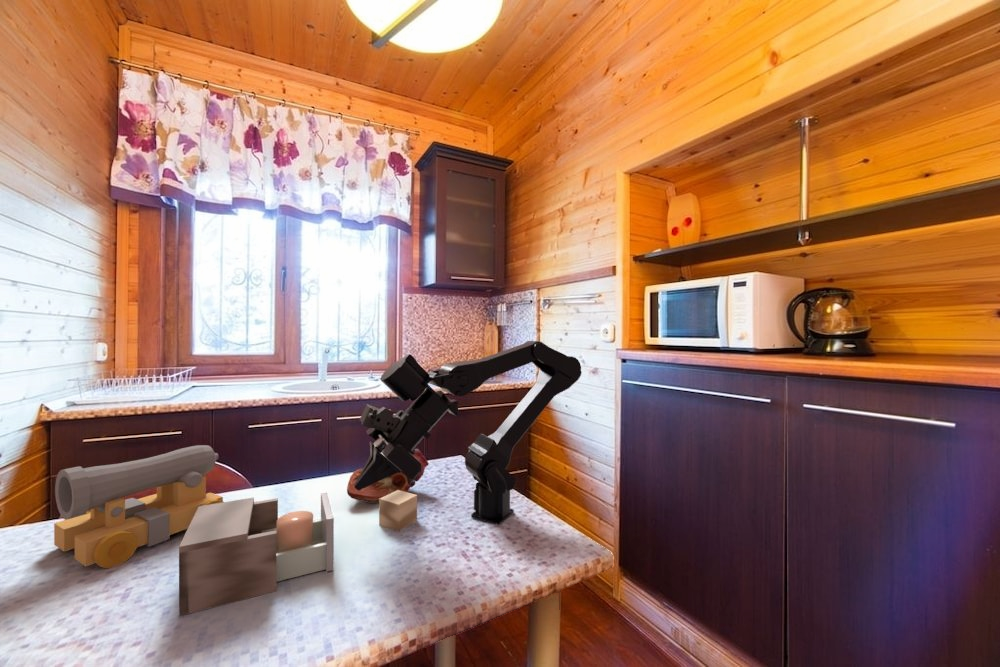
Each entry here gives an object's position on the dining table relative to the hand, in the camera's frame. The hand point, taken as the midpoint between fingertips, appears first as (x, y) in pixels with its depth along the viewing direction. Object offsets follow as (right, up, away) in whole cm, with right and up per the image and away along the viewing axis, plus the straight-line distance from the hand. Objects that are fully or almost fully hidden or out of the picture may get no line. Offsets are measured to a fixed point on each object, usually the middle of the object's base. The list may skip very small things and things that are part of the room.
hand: (356, 488), depth 69 cm
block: (+5, -10, +9) cm, 14 cm away
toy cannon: (-39, -10, +5) cm, 41 cm away
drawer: (-8, -10, -4) cm, 13 cm away
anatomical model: (-1, -10, +21) cm, 24 cm away
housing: (-15, -10, -8) cm, 20 cm away
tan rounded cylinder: (-8, -9, -4) cm, 13 cm away
